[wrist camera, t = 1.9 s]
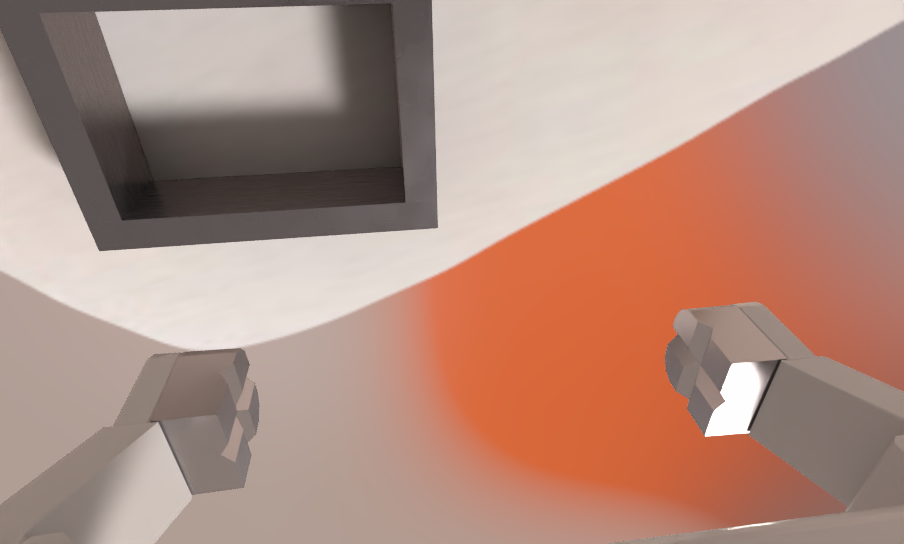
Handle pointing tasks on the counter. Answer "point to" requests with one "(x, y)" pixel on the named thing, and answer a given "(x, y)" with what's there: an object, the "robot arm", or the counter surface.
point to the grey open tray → (222, 198)
